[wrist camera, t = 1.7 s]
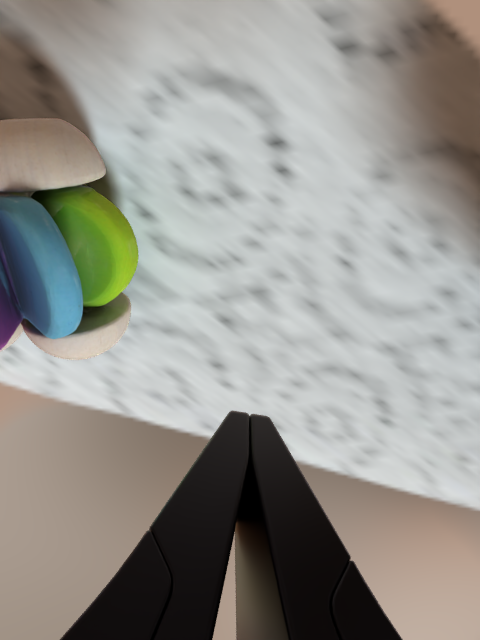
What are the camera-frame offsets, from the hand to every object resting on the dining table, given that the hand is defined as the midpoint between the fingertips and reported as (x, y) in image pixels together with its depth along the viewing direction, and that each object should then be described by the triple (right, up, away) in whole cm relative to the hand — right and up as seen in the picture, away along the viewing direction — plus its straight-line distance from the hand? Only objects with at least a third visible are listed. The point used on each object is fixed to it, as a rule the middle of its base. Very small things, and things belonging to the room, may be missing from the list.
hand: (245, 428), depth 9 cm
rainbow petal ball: (-9, +6, +8) cm, 13 cm away
